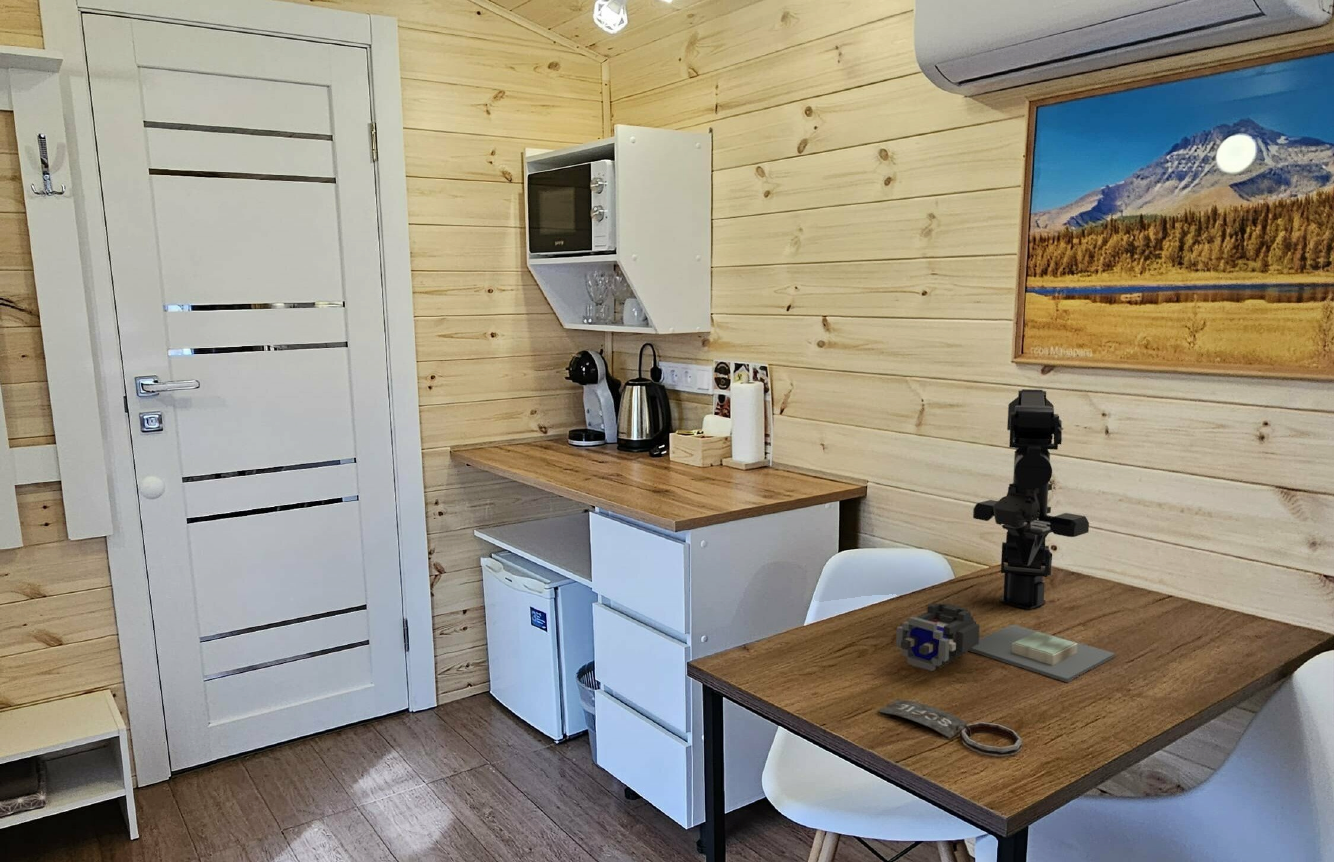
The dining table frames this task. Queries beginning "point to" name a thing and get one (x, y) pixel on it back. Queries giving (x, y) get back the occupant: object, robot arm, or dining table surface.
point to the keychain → (953, 726)
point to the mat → (1065, 670)
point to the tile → (1044, 648)
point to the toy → (937, 636)
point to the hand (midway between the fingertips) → (1026, 565)
